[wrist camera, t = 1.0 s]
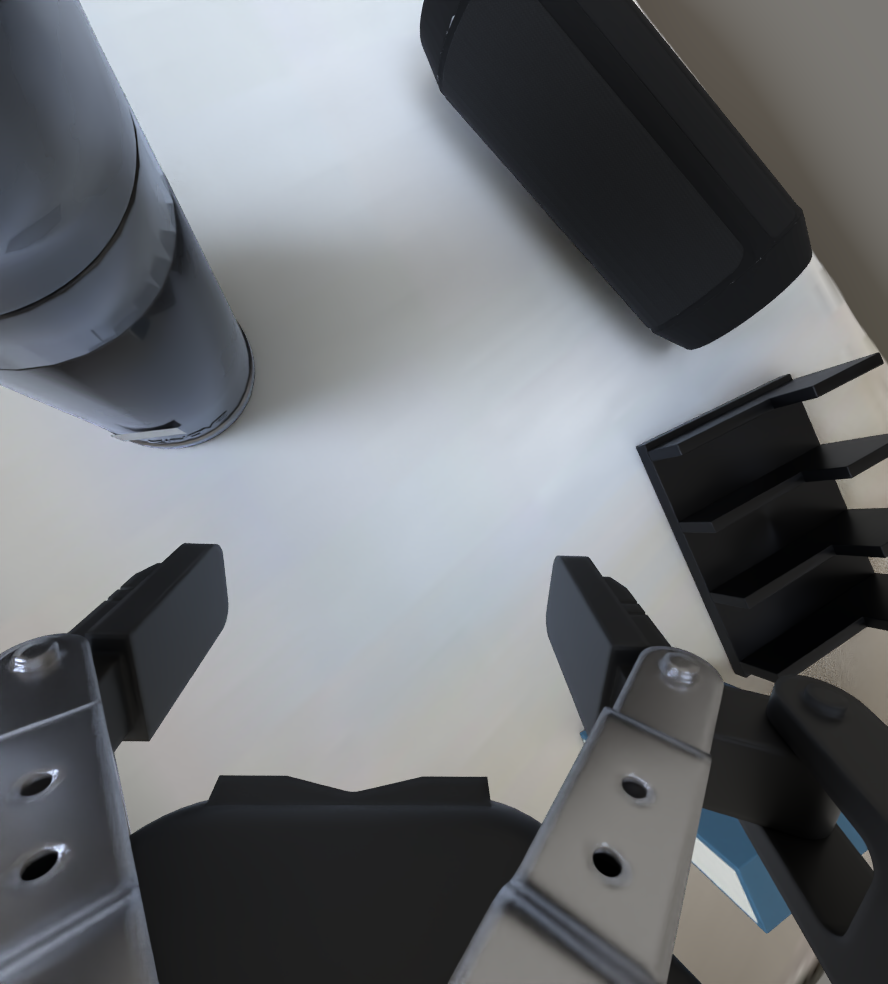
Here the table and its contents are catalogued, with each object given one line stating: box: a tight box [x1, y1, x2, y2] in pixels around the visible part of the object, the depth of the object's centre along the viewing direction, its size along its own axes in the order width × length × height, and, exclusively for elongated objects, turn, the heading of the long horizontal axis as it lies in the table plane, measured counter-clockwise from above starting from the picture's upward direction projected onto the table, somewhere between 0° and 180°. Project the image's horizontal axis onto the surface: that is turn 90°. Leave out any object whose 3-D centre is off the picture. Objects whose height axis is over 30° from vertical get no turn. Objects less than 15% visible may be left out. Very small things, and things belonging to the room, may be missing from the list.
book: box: [580, 682, 868, 933], centre depth 27 cm, size 3×9×13 cm, turn 115°
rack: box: [636, 353, 888, 683], centre depth 33 cm, size 18×14×7 cm
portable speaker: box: [420, 0, 812, 350], centre depth 30 cm, size 26×10×10 cm, turn 45°
